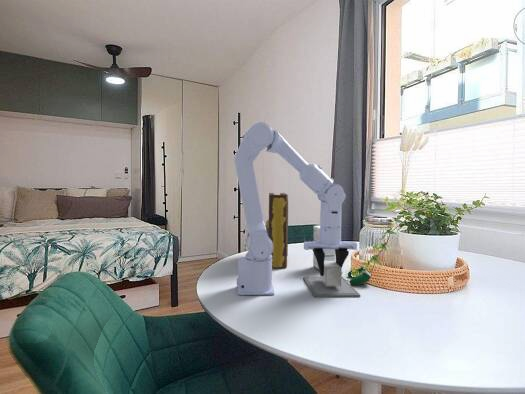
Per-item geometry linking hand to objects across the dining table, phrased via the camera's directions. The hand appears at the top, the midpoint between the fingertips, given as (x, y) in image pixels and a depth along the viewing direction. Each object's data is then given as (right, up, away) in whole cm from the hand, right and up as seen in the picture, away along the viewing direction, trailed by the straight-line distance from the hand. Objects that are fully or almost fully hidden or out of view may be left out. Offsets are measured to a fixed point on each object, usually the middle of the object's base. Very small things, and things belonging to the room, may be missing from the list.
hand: (329, 274), depth 84 cm
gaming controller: (+10, -4, +5) cm, 12 cm away
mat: (0, -3, 0) cm, 3 cm away
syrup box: (+2, -3, +18) cm, 19 cm away
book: (-13, -2, +29) cm, 32 cm away
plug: (0, -2, +1) cm, 2 cm away
